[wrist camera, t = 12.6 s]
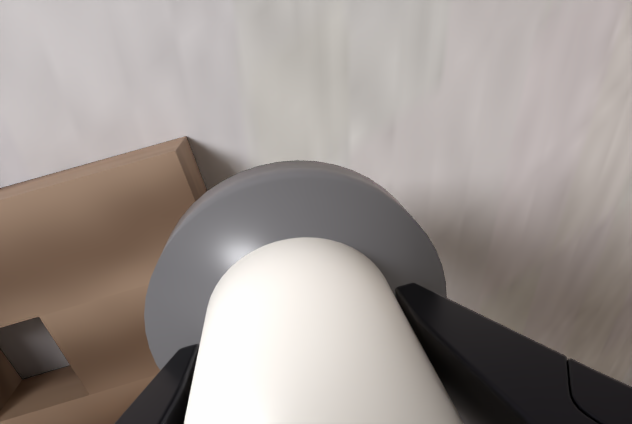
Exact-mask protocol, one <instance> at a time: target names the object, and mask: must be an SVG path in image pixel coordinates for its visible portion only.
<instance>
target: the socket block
mask: <svg viewBox="0 0 632 424" xmlns="http://www.w3.org/2000/svg"><path fill="white" fill-rule="evenodd" d="M206 192H207V189H206V187H205V184H204V181H203V179H202V176H201V174H200V171H199V168H198V166H197V163H196V160H195V158H194V155H193V153H192V150H191V147H190V145H189V142H188V140H187V137H186V136H185V137H182V138H178V139H174V140H171V141H167V142H164V143H160V144H157V145H153V146H149V147H146V148H142V149H139V150H135V151H132V152H128V153H124V154H121V155H117V156H114V157H110V158H107V159H103V160H99V161H96V162H92V163H89V164H85V165H82V166H78V167H74V168H71V169H67V170H64V171H60V172H56V173H53V174H49V175H46V176H42V177H39V178H35V179H31V180H28V181H24V182H21V183H17V184H14V185H10V186H6V187H3V188H0V328H1V327H5V326H8V325H12V324H15V323H19V322H22V321H25V320H29V319H32V318H36V317H39V318H40V319H41V321H42V322H43V324H44V325H45V327H46V328H47V330H48V331H49V333H50V335H51V336H52V338H53V339H54V341H55V342H56V344H57V345H58V347H59V349H60V350H61V352H62V353H63V355H64V356H65V358H66V359H67V361H68V363H69V364H70V366H67V367H63V368H60V369H57V370H53V371H50V372H46V373H43V374H40V375H36V376H33V377H30V378H26V379H23V380H22V379H21V377H20V376H19V375H18V373H17V372H16V370H15V369H14V368H13V366H12V365H11V363H10V362H9V361H8V359H7V358H6V356H5V355H4V354H3V352H2V351H1V350H0V424H114V423H115V422H116V421H117V420H118V419H119V418H120V416H121V415H122V414H123V413H124V412H125V411H126V410H127V408H128V407H129V406H130V405H131V404H132V403H133V402H134V400H135V399H136V398H137V397H138V396H139V395H140V393H141V392H142V391H143V390H144V389H145V388H146V387H147V385H148V384H149V383H150V382H151V381H152V380H153V378H154V377H155V376H156V375H157V374H158V373H159V372H160V369H159V368H158V366H157V364H156V362H155V360H154V358H153V355H152V353H151V351H150V348H149V344H148V340H147V336H146V332H145V320H144V310H145V299H146V294H147V290H148V286H149V282H150V278H151V276H152V274H153V271H154V269H155V267H156V264H157V262H158V260H159V258H160V256H161V254H162V252H163V249H164V247H165V245H166V243H167V241H168V239H169V237H170V235H171V233H172V231H173V230H174V228H175V226H176V225H177V223H178V222H179V220H180V218H181V217H182V216H183V215H184V214H185V212H186V211H187V210H188V209H189V208H190V206H191V205H192V204H193V203H194V202H195V201H197V200H198V199H199V198H200V197H201V196H202V195H203V194H204V193H206Z"/></svg>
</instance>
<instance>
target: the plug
mask: <svg viewBox="0 0 632 424" xmlns="http://www.w3.org/2000/svg"><path fill="white" fill-rule="evenodd" d="M409 283H416V284H418V285H420V286H423V287H425V288H427V289H429V290H431V291H433V292H435V293H437V294H439V295H441V296H443V297H445V298H447V297H446V281H445V277H444V272H443V268H442V264H441V262H440V259H439V257H438V254H437V251H436V249H435V248H434V246H433V244H432V242H431V241H430V239H429V237H428V236H427V234H426V233H425V232H424V231H423V229H422V228H421V227H420V226H419V225H418V223H417V222H416V221H415V220H414V219H413V218H412V216H411V215H410V214H409V213H408V212H407V211H406V210H405V209H404V208H403V206H402V205H401V204H400V203H399V202H398V201H397V200H396V199H395V198H394V197H393V196H392V195H391V194H390V193H389V192H388V191H386V190H385V189H384V188H383V187H381V186H380V185H378V184H377V183H375V182H374V181H372V180H371V179H369V178H367V177H365V176H363V175H361V174H359V173H357V172H355V171H353V170H350V169H347V168H344V167H341V166H338V165H334V164H328V163H323V162H317V161H299V160H297V161H283V162H275V163H270V164H265V165H261V166H257V167H254V168H251V169H248V170H245V171H242V172H240V173H238V174H235V175H233V176H231V177H229V178H227V179H225V180H223V181H222V182H220V183H219V184H217V185H216V186H214V187H213V188H211V189H210V190H208V191H207V192H206V193H204V194H203V195H202V196H201V197H200V198H199V199H198V200H197V201H195V202H194V203H193V204H192V205H191V206H190V208H189V209H188V210H187V211H186V212H185V214H184V215H183V216H182V217H181V218H180V220H179V222H178V223H177V225H176V226H175V228H174V230H173V231H172V233H171V235H170V237H169V239H168V241H167V243H166V245H165V247H164V249H163V252H162V254H161V256H160V258H159V260H158V262H157V264H156V267H155V269H154V271H153V274H152V276H151V278H150V282H149V286H148V290H147V294H146V299H145V310H144V320H145V332H146V336H147V340H148V344H149V348H150V351H151V353H152V355H153V358H154V360H155V362H156V364H157V366H158V368H159V369H160V370H161V369H162V368H163V367H164V366H165V365H166V364H167V362H168V361H169V360H170V359H171V358H172V357H173V355H174V354H175V353H176V352H177V351H178V350H179V349H180V348H183V347H187V346H190V345H194V344H200V346H199V351H198V356H197V361H196V366H195V371H194V375H193V380H192V385H191V390H190V395H189V400H188V405H187V410H186V415H185V420H184V424H464V423H463V421H462V419H461V417H460V415H459V414H458V412H457V410H456V408H455V406H454V404H453V403H452V401H451V399H450V397H449V395H448V393H447V391H446V390H445V388H444V386H443V384H442V382H441V380H440V379H439V377H438V375H437V373H436V371H435V369H434V367H433V366H432V364H431V362H430V360H429V358H428V356H427V355H426V353H425V351H424V349H423V347H422V345H421V343H420V342H419V340H418V338H417V336H416V334H415V332H414V331H413V329H412V327H411V325H410V323H409V321H408V319H407V318H406V316H405V314H404V312H403V310H402V308H401V307H400V305H399V303H398V301H397V299H396V297H395V288H396V287H398V286H402V285H405V284H409Z"/></svg>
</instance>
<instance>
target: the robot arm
mask: <svg viewBox="0 0 632 424" xmlns="http://www.w3.org/2000/svg"><path fill="white" fill-rule="evenodd" d="M395 297H396V299H397V301H398V303H399V305H400V307H401V308H402V310H403V312H404V314H405V316H406V318H407V319H408V321H409V323H410V325H411V327H412V329H413V331H414V332H415V334H416V336H417V338H418V340H419V342H420V343H421V345H422V347H423V349H424V351H425V353H426V355H427V356H428V358H429V360H430V362H431V364H432V366H433V367H434V369H435V371H436V373H437V375H438V377H439V379H440V380H441V382H442V384H443V386H444V388H445V390H446V391H447V393H448V395H449V397H450V399H451V401H452V403H453V404H454V406H455V408H456V410H457V412H458V414H459V415H460V417H461V419H462V421H463V423H464V424H632V387H631V386H629V385H626V384H624V383H622V382H620V381H618V380H616V379H613V378H611V377H609V376H607V375H605V374H603V373H600V372H598V371H596V370H594V369H592V368H590V367H588V366H586V365H584V364H581V363H579V362H577V361H575V360H573V359H568V361H567V357H566V356H565V355H563V354H561V353H558V352H556V351H554V350H552V349H550V348H548V347H546V346H544V345H542V344H540V343H538V342H536V341H534V340H532V339H530V338H528V337H526V336H523V335H521V334H519V333H517V332H515V331H513V330H511V329H509V328H507V327H505V326H503V325H501V324H499V323H497V322H495V321H493V320H491V319H488V318H486V317H484V316H482V315H480V314H478V313H476V312H474V311H472V310H470V309H468V308H466V307H464V306H462V305H460V304H458V303H456V302H453V301H451V300H449V299H447V298H445V297H443V296H441V295H439V294H437V293H435V292H433V291H431V290H429V289H427V288H425V287H423V286H420V285H418V284H416V283H409V284H405V285H402V286H398V287H396V288H395ZM199 346H200V344H194V345H190V346H187V347H183V348H180V349H179V350H178V351H177V352H176V353H175V354H174V355H173V357H172V358H171V359H170V360H169V361H168V362H167V364H166V365H165V366H164V367H163V368H162V369H161V370H160V372H159V373H158V374H157V375H156V376H155V377H154V378H153V380H152V381H151V382H150V383H149V384H148V385H147V387H146V388H145V389H144V390H143V391H142V392H141V393H140V395H139V396H138V397H137V398H136V399H135V400H134V402H133V403H132V404H131V405H130V406H129V407H128V408H127V410H126V411H125V412H124V413H123V414H122V415H121V416H120V418H119V419H118V420H117V421H116V422H115V423H114V424H184V420H185V415H186V410H187V405H188V400H189V395H190V390H191V385H192V380H193V375H194V371H195V366H196V361H197V356H198V351H199Z"/></svg>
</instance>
